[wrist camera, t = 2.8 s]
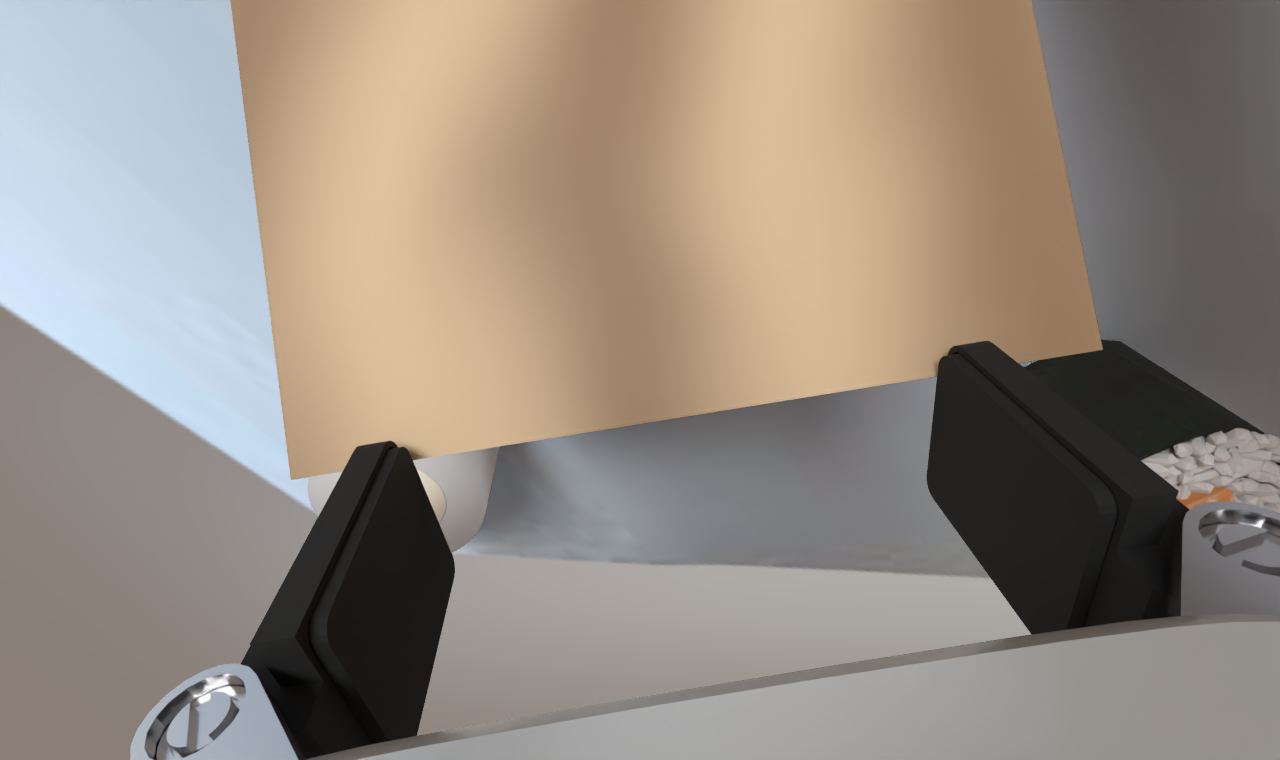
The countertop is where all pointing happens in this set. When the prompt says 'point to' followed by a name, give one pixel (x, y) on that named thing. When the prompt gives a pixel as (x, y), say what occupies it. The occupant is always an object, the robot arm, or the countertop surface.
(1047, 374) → the sushi
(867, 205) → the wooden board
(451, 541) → the cream-capped white cylinder
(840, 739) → the robot arm
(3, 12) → the countertop surface
